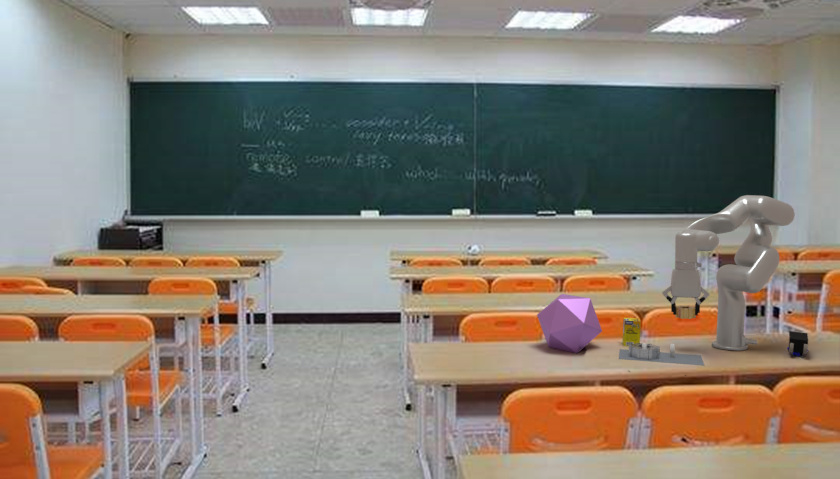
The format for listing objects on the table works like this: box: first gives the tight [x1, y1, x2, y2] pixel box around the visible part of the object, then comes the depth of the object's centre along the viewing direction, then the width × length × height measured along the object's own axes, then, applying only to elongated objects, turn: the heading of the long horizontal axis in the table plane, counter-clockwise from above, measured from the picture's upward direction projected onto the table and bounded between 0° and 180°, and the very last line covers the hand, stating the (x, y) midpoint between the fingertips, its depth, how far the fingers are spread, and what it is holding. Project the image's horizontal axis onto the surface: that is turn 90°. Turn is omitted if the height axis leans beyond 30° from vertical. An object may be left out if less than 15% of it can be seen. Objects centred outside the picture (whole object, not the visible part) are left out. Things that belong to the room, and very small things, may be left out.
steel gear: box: [628, 342, 661, 360], centre depth 257 cm, size 10×10×4 cm
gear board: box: [618, 342, 705, 367], centre depth 256 cm, size 28×15×6 cm, turn 73°
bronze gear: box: [674, 305, 697, 320], centre depth 265 cm, size 7×7×4 cm
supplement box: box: [622, 317, 642, 347], centre depth 274 cm, size 6×6×11 cm
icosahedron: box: [536, 293, 603, 354], centre depth 272 cm, size 22×21×24 cm
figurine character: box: [787, 330, 809, 359], centre depth 266 cm, size 7×8×15 cm
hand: (685, 314), depth 265 cm, fingers closed on bronze gear, 7 cm apart
